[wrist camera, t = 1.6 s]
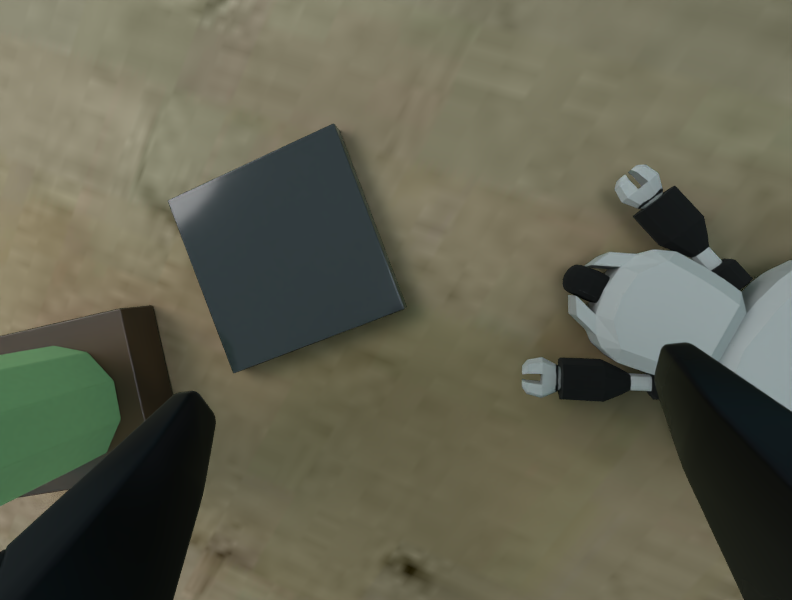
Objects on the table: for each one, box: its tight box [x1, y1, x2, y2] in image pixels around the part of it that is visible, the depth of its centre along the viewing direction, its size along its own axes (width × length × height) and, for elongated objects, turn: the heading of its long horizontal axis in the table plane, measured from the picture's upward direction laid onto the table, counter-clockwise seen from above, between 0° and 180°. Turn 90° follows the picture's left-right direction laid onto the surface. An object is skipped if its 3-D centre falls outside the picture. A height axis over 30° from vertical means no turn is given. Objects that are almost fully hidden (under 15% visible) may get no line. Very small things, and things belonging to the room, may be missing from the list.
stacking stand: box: [0, 306, 173, 498], centre depth 23 cm, size 9×9×7 cm
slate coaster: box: [168, 124, 407, 373], centre depth 24 cm, size 10×10×1 cm
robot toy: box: [522, 165, 792, 411], centre depth 19 cm, size 12×4×15 cm
